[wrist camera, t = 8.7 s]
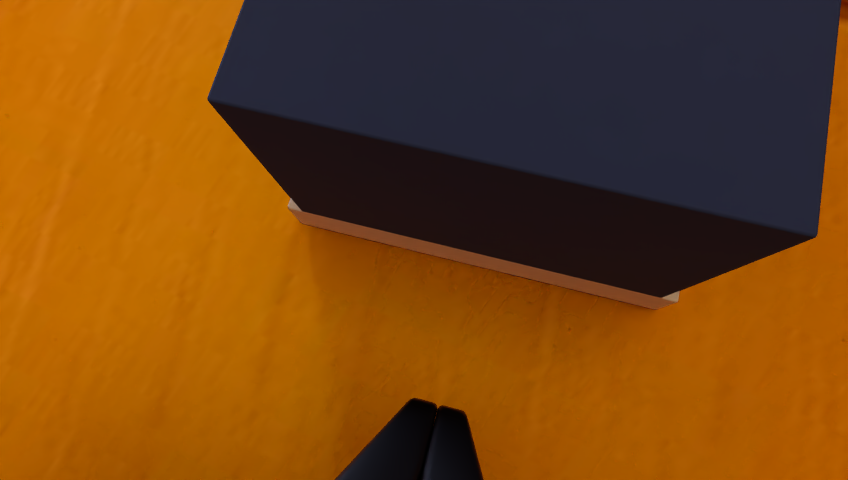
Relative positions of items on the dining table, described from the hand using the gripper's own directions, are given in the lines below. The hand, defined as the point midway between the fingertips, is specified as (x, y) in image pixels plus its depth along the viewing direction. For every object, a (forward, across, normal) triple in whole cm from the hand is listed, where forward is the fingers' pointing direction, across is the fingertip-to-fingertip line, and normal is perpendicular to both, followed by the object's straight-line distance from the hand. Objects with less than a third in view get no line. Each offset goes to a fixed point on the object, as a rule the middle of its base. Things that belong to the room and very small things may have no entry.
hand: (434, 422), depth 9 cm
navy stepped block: (+14, 0, -5) cm, 15 cm away
